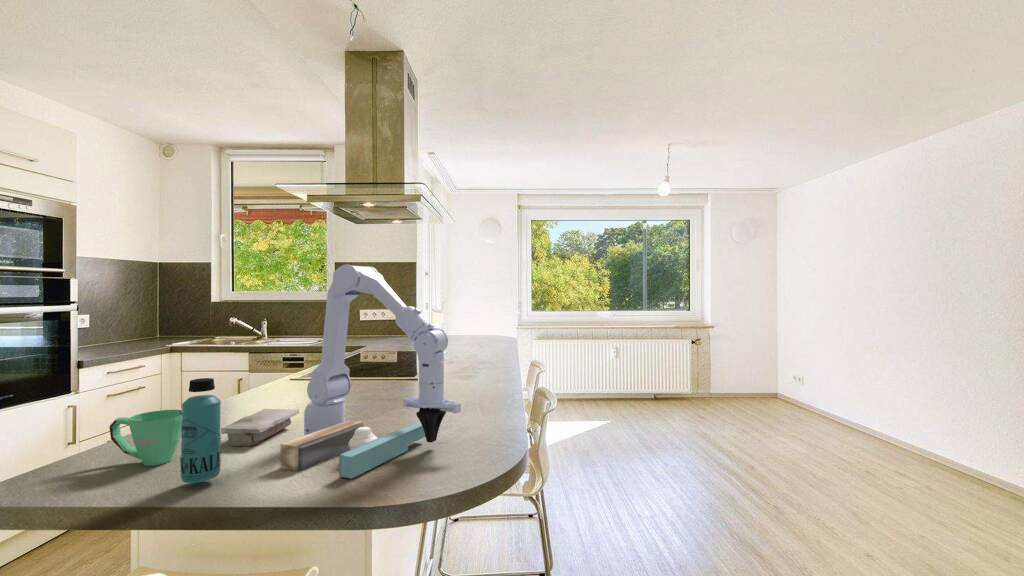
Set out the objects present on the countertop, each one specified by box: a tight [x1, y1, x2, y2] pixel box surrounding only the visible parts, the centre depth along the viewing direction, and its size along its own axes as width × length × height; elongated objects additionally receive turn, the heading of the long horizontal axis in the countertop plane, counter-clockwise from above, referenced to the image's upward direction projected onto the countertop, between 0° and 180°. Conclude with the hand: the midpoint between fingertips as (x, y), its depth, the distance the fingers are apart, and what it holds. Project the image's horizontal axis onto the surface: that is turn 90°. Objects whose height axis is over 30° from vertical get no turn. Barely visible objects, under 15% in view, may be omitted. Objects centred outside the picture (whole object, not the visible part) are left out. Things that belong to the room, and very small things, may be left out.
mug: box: [108, 409, 182, 467], centre depth 103 cm, size 15×10×10 cm
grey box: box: [220, 408, 300, 447], centre depth 121 cm, size 18×5×10 cm
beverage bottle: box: [179, 377, 222, 484], centre depth 91 cm, size 6×7×20 cm
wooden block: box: [279, 419, 365, 472], centre depth 107 cm, size 5×20×5 cm, turn 156°
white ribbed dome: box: [348, 426, 379, 450], centre depth 104 cm, size 6×6×7 cm
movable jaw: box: [338, 422, 426, 479], centre depth 104 cm, size 3×25×4 cm, turn 156°
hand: (431, 441), depth 110 cm, fingers closed
